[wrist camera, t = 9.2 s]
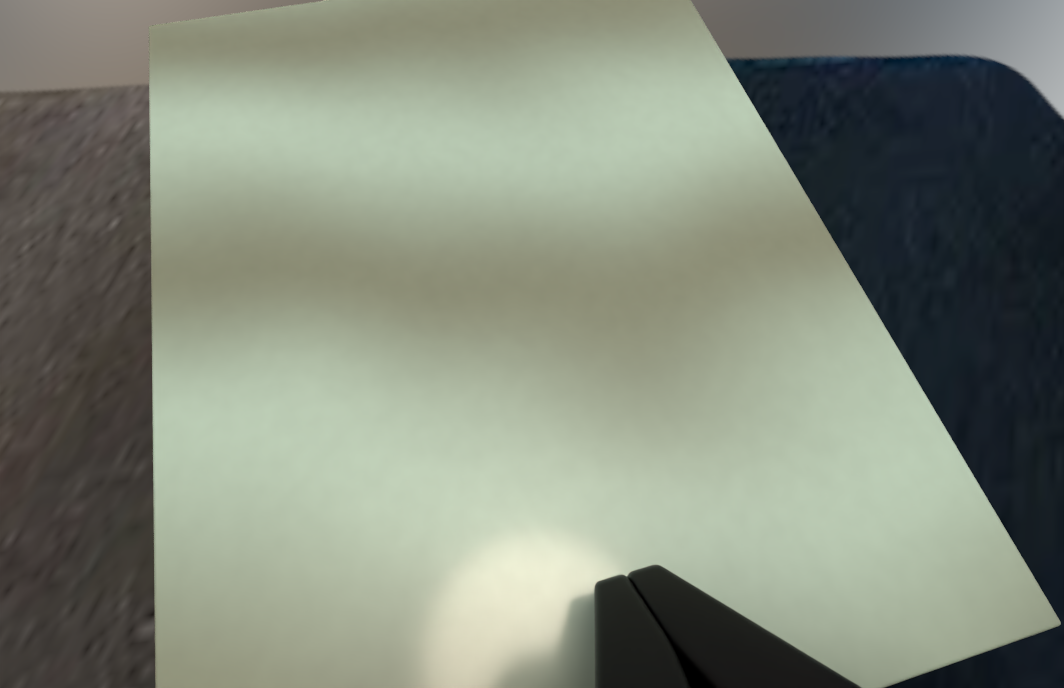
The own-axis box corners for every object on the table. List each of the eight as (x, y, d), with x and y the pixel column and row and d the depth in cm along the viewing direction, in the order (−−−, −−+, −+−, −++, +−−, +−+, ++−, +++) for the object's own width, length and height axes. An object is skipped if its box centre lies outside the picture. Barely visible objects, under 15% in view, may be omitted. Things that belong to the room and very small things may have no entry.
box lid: (165, 55, 15) (147, 25, 14) (656, -19, 16) (662, -50, 16) (188, 917, 8) (155, 946, 7) (1023, 626, 10) (1064, 625, 9)
